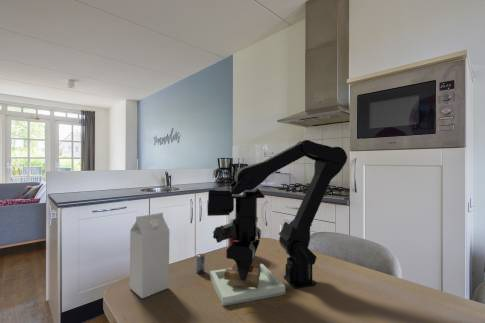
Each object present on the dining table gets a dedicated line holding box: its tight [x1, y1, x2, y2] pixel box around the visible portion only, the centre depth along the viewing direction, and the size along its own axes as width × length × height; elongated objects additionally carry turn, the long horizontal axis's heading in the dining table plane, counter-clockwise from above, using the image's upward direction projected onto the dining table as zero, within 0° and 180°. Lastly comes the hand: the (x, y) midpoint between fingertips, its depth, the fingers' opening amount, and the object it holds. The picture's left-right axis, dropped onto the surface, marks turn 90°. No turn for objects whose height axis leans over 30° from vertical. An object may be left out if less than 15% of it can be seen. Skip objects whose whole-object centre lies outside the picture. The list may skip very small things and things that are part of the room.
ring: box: [224, 261, 261, 288], centre depth 64 cm, size 9×7×3 cm
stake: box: [195, 253, 206, 275], centre depth 71 cm, size 2×2×5 cm
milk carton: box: [129, 212, 170, 299], centre depth 62 cm, size 7×7×19 cm
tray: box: [209, 263, 286, 307], centre depth 64 cm, size 16×14×2 cm
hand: (245, 273), depth 64 cm, fingers open, 7 cm apart
